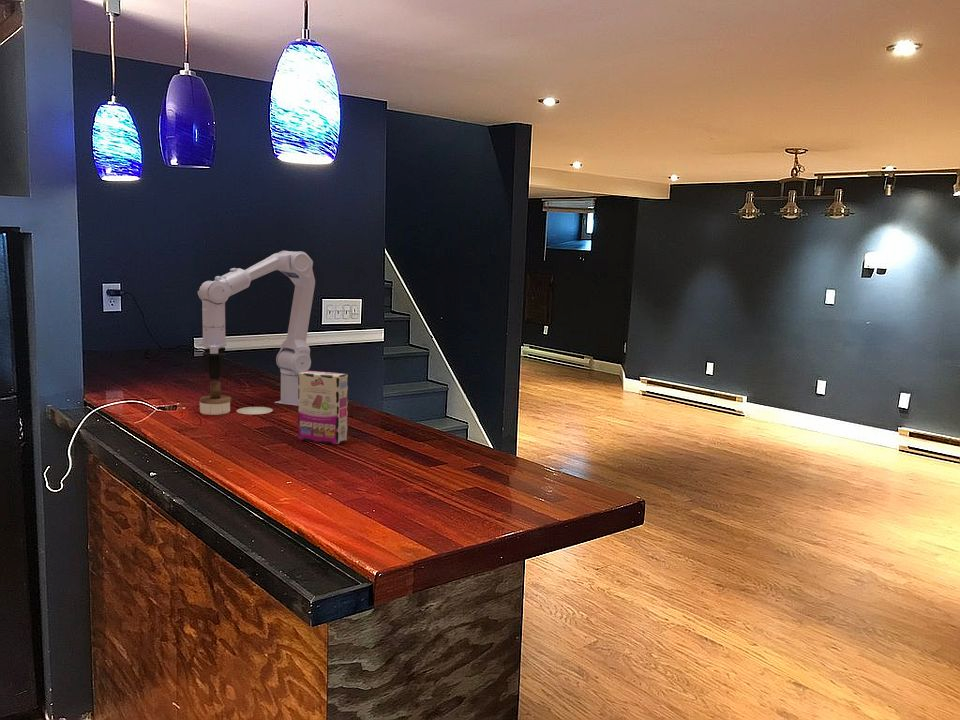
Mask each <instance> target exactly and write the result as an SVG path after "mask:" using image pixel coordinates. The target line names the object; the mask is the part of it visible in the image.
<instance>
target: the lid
mask: <svg viewBox="0 0 960 720" xmlns="http://www.w3.org/2000/svg"><path fill="white" fill-rule="evenodd" d="M209 390H210V391H209V392H210V393H209V394H210V395H204V396H201V397H200V398H199V403H200V402H201V403H204V404H223V403H228V402H230V403H231V401H232V397H231V396H229V395H222V394H221V381H219V380H215V381H214V380H213V381H210V382H209Z"/></svg>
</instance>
